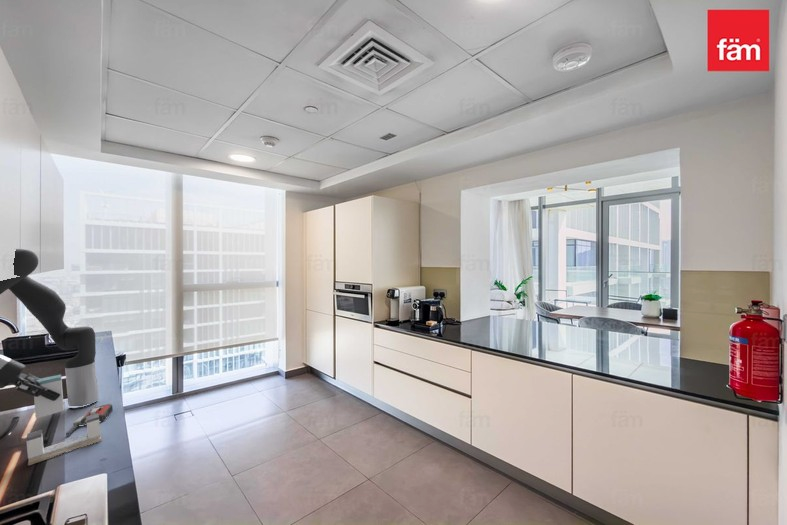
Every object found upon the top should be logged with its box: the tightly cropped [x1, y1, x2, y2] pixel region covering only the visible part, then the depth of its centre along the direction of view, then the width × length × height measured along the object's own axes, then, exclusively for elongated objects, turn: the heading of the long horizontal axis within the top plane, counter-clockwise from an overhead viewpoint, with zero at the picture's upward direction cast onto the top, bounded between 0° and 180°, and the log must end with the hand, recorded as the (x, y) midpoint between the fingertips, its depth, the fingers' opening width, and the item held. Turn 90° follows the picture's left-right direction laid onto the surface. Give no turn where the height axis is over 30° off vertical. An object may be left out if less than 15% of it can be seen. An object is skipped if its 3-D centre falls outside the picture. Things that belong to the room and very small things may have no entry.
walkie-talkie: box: [66, 403, 114, 436], centre depth 121 cm, size 9×4×20 cm
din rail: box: [28, 433, 101, 461], centre depth 103 cm, size 5×16×1 cm, turn 135°
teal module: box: [33, 374, 65, 419], centre depth 104 cm, size 4×6×11 cm
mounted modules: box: [25, 413, 102, 460], centre depth 103 cm, size 4×16×6 cm, turn 135°
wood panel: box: [27, 435, 102, 466], centre depth 103 cm, size 7×16×1 cm, turn 135°
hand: (57, 395), depth 105 cm, fingers closed on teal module, 4 cm apart
